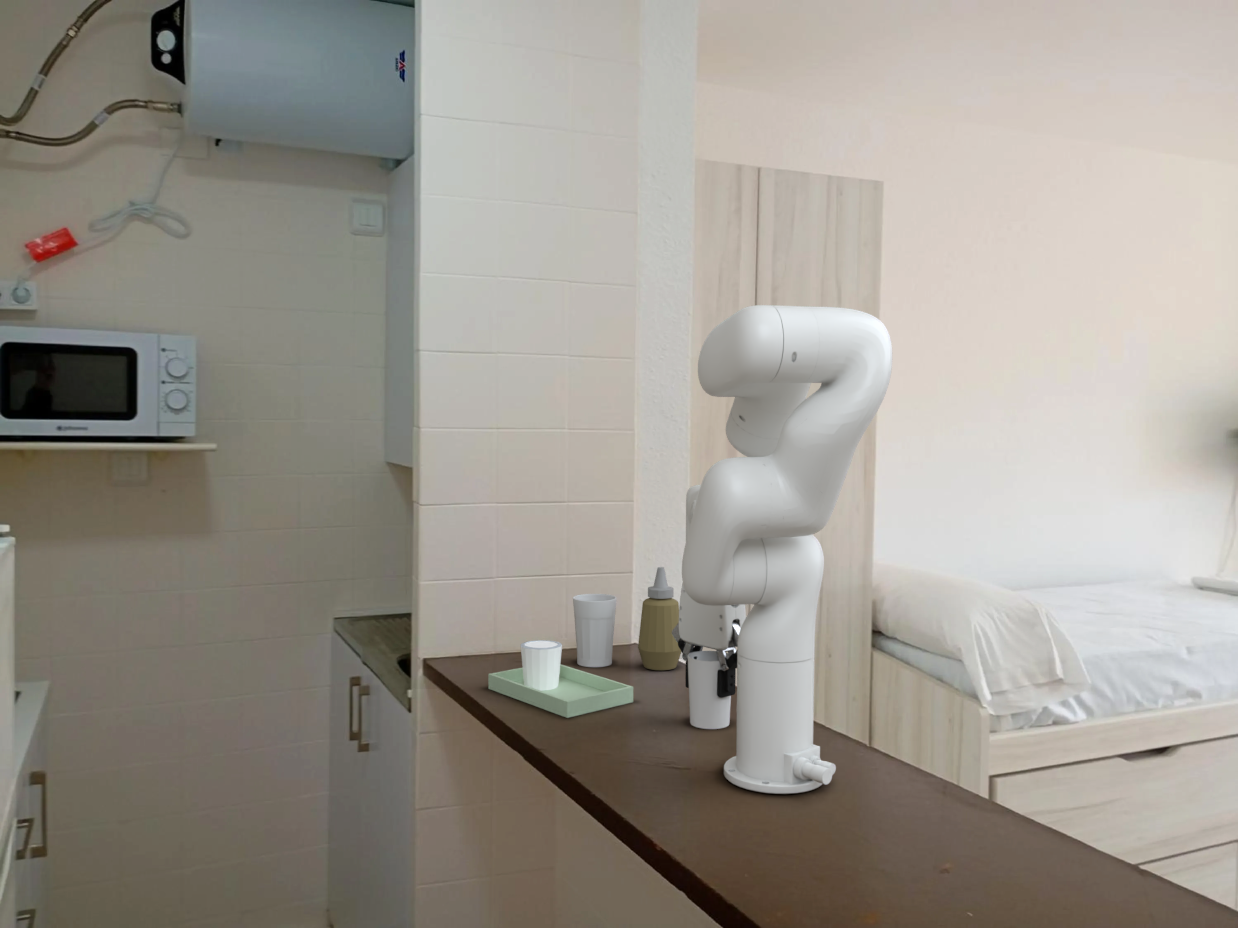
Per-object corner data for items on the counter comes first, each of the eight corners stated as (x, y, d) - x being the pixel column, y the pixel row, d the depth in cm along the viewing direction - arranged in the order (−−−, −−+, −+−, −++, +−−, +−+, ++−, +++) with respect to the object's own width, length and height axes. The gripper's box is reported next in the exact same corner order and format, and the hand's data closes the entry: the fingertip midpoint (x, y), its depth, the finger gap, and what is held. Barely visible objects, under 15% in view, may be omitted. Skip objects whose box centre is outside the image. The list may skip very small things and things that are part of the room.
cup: (618, 658, 192) (618, 594, 191) (613, 668, 184) (614, 602, 183) (575, 657, 192) (576, 593, 192) (569, 667, 184) (569, 600, 184)
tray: (633, 702, 163) (633, 686, 163) (567, 718, 154) (567, 701, 154) (552, 675, 179) (552, 661, 179) (488, 688, 170) (488, 673, 170)
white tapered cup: (560, 691, 167) (560, 648, 166) (518, 691, 167) (518, 648, 166) (563, 680, 173) (563, 639, 173) (522, 680, 174) (522, 639, 173)
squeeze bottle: (653, 659, 191) (654, 562, 190) (691, 666, 186) (692, 566, 185) (628, 668, 184) (629, 568, 183) (666, 675, 179) (667, 572, 178)
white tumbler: (740, 727, 150) (741, 659, 149) (698, 731, 148) (699, 662, 147) (720, 714, 156) (720, 649, 156) (680, 718, 154) (680, 652, 153)
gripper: (773, 573, 147) (771, 699, 148) (688, 560, 160) (687, 675, 161) (737, 579, 142) (735, 708, 143) (652, 564, 155) (651, 683, 156)
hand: (710, 689), depth 152 cm, fingers closed on white tumbler, 5 cm apart
